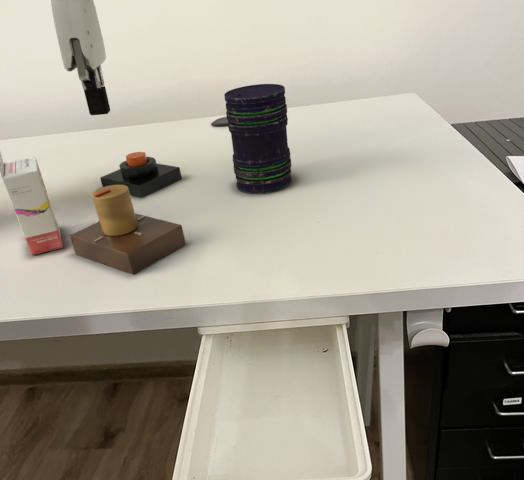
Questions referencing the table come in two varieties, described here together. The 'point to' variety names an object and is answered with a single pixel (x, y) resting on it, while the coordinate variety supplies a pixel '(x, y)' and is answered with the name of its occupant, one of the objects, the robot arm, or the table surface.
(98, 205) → the dial
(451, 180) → the table surface
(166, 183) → the button block
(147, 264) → the dial panel
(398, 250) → the table surface
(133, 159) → the button
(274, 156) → the dark blue barrel
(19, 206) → the ink cartridge box
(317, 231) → the table surface
